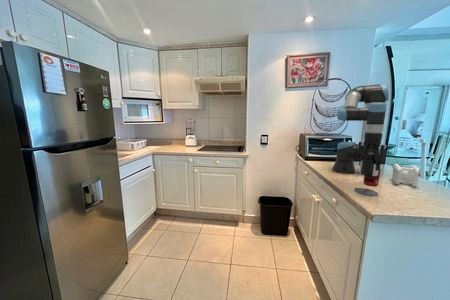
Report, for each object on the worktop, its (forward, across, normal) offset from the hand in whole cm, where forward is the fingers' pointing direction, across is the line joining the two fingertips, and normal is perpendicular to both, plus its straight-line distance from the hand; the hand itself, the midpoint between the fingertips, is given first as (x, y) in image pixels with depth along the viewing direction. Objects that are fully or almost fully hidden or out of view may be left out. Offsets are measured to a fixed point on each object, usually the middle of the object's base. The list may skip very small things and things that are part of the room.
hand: (368, 173), depth 105 cm
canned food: (+11, -9, +16) cm, 21 cm away
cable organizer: (+11, -4, +37) cm, 39 cm away
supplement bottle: (+1, 0, 0) cm, 1 cm away
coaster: (+11, 0, 0) cm, 11 cm away
